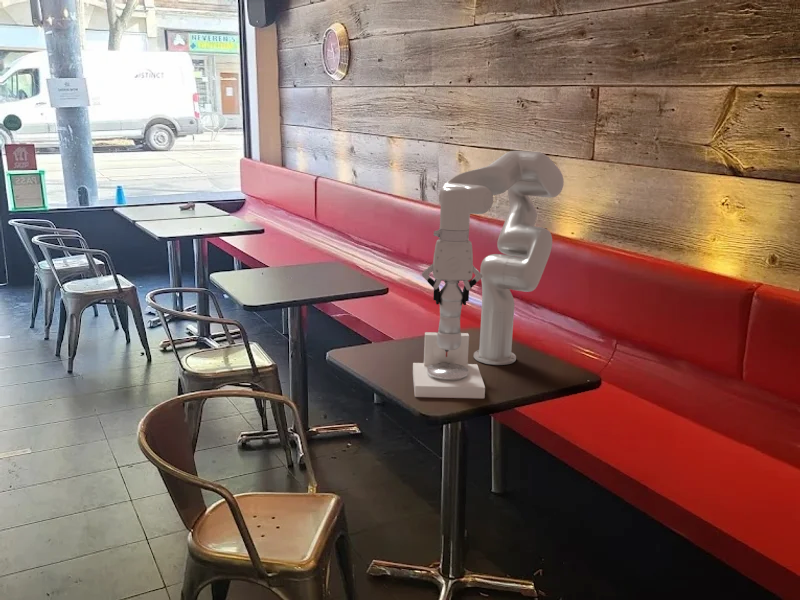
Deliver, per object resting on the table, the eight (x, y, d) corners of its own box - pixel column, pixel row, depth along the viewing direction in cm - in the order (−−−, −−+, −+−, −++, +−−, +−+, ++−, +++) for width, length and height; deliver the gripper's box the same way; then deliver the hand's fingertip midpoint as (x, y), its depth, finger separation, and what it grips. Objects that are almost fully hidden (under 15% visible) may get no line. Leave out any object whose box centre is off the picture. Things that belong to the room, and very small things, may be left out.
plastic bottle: (445, 343, 204) (448, 271, 199) (466, 349, 200) (469, 275, 195) (431, 349, 199) (433, 275, 194) (451, 354, 195) (455, 279, 190)
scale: (412, 372, 211) (414, 332, 208) (476, 374, 211) (478, 333, 208) (414, 396, 193) (416, 352, 190) (484, 398, 193) (487, 354, 190)
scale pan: (426, 365, 206) (426, 362, 206) (466, 366, 207) (466, 363, 206) (428, 379, 196) (428, 376, 195) (470, 380, 196) (470, 377, 196)
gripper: (420, 237, 188) (418, 306, 192) (489, 239, 188) (485, 308, 193) (419, 232, 195) (417, 299, 200) (485, 234, 196) (482, 300, 200)
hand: (450, 302), depth 196 cm, fingers closed on plastic bottle, 6 cm apart
